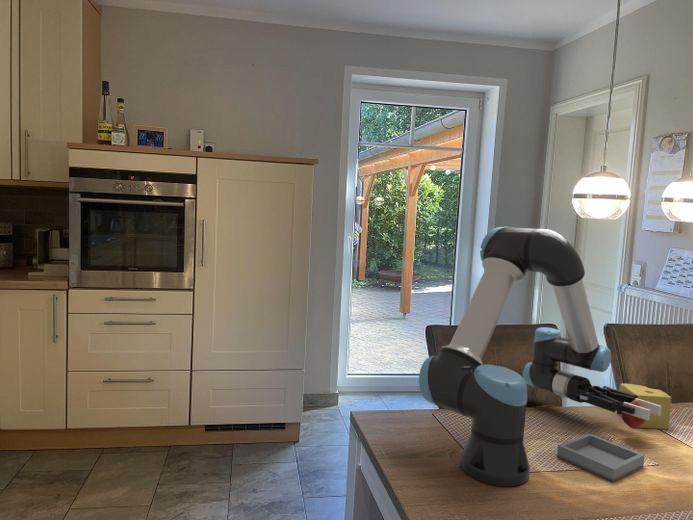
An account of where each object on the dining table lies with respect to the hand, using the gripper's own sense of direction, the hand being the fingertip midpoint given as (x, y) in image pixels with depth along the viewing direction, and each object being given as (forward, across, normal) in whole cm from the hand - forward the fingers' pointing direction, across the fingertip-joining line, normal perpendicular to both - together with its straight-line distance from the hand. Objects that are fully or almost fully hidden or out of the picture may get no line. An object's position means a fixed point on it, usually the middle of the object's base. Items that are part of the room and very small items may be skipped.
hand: (654, 413), depth 133 cm
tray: (-3, +20, -10) cm, 23 cm away
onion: (-5, 0, -6) cm, 8 cm away
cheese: (-10, -17, -9) cm, 22 cm away
